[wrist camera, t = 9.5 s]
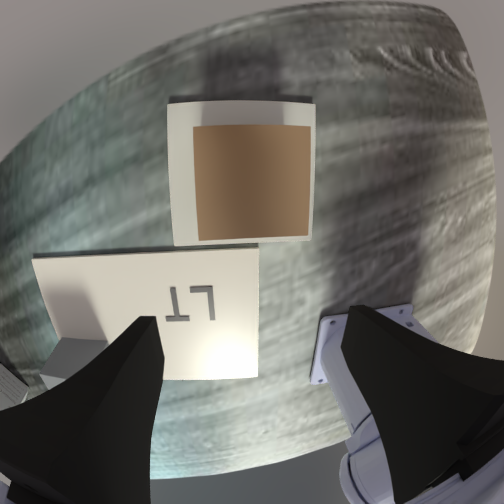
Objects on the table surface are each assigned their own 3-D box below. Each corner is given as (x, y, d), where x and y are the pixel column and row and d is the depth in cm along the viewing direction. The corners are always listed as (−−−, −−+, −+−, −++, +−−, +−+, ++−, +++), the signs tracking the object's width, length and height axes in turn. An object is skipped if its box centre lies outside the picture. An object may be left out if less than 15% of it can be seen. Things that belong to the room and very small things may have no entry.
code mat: (258, 247, 18) (259, 249, 18) (257, 374, 23) (257, 377, 22) (33, 258, 17) (30, 259, 16) (75, 370, 21) (74, 372, 20)
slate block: (107, 340, 20) (89, 382, 15) (123, 381, 21) (112, 422, 17) (61, 337, 19) (39, 373, 14) (80, 376, 21) (64, 413, 16)
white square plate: (312, 105, 15) (315, 104, 15) (309, 238, 19) (311, 240, 18) (169, 105, 14) (167, 104, 14) (175, 243, 18) (174, 246, 17)
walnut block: (284, 132, 15) (310, 126, 11) (284, 211, 17) (308, 235, 13) (200, 133, 15) (193, 126, 10) (204, 214, 17) (198, 240, 12)
